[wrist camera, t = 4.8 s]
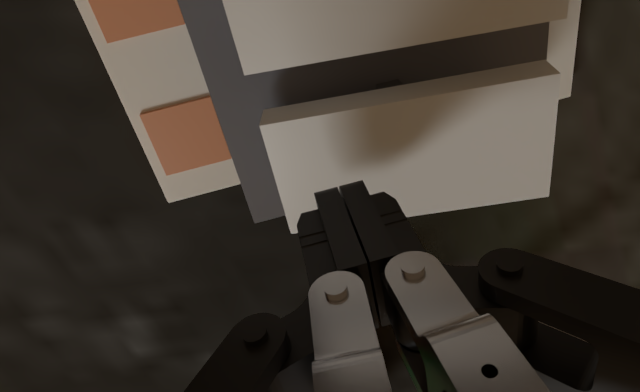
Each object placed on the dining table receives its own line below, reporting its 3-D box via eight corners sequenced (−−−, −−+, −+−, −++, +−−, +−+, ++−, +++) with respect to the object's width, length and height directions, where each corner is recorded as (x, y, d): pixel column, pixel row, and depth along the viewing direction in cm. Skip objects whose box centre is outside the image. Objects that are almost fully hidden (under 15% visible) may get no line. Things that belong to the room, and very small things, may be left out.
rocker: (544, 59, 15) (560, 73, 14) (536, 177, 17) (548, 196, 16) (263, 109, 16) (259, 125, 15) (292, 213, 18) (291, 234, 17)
